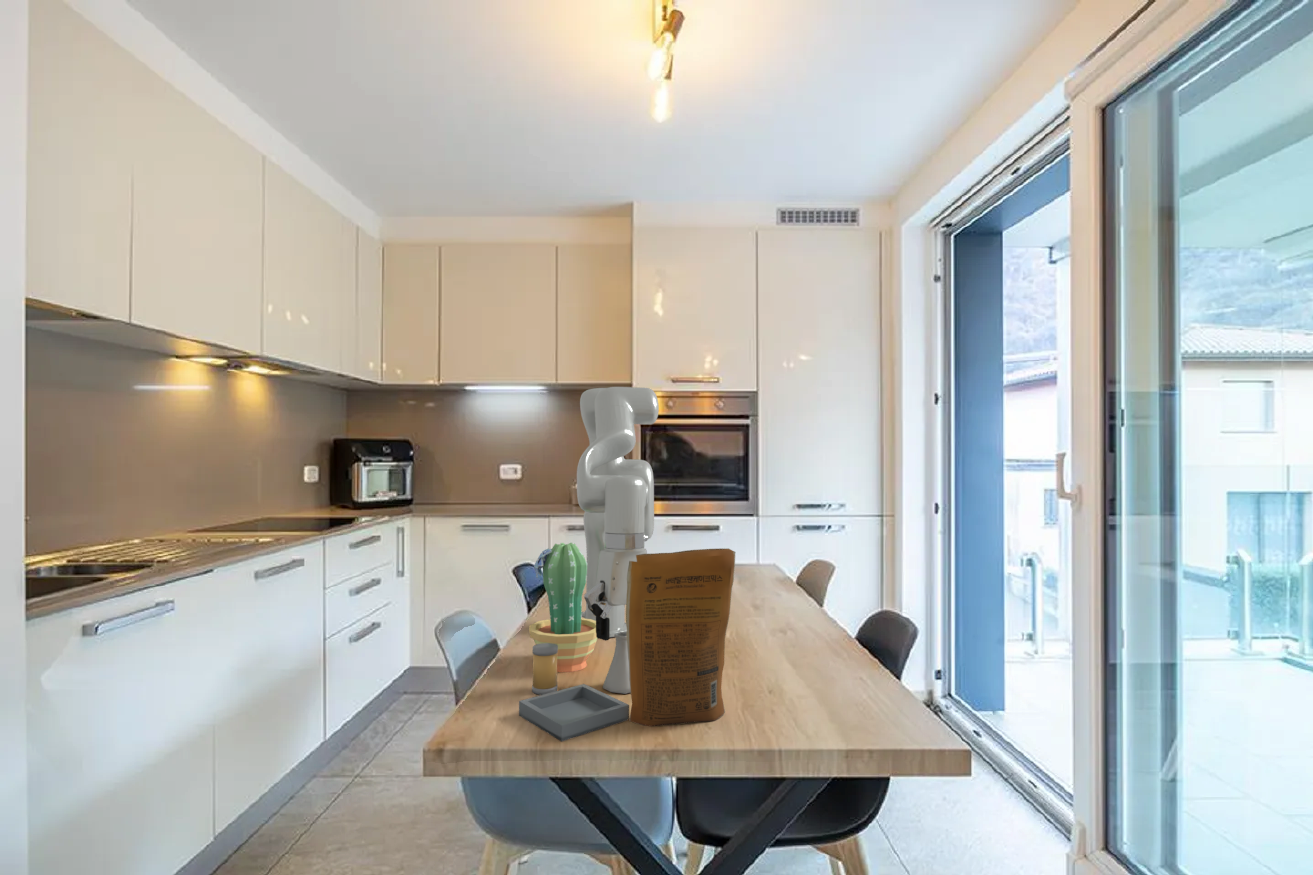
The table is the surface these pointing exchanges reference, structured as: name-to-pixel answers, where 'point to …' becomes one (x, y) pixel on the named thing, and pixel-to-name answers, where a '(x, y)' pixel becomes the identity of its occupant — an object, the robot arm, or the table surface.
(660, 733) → the table surface
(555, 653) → the fuse
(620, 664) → the flask
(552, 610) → the potted cactus
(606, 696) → the tray
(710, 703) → the pancake mix bag
